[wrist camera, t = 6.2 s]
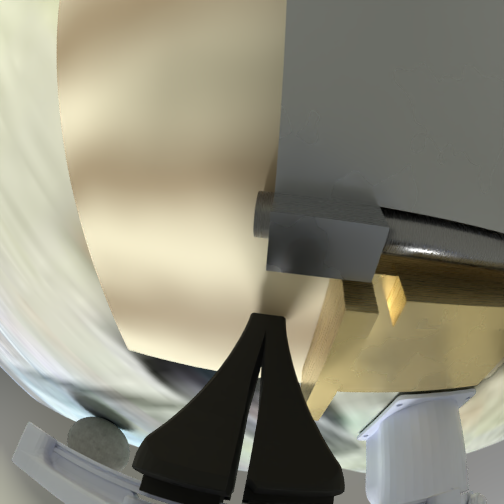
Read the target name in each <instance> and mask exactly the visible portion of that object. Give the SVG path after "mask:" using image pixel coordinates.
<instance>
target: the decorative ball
mask: <svg viewBox="0 0 504 504" xmlns="http://www.w3.org/2000/svg"><path fill="white" fill-rule="evenodd" d="M67 443H68V447H69V448H71V449H73V450H75V451H76V452H78V453H80V454H82V455H84V456H86V457H88V458H90V459H92V460H94V461H96V462H98V463H100V464H102V465H104V466H107V467H109V468H111V469H113V470H116V471H118V472H120V471H121V470H123V468H124V467H125V466H126V465H127V463H128V460H129V455H130V450H129V445H128V442H127V439H126V437H125V435H124V434H123V432H122V431H121V430H120V429H119V428H118V427H117V426H116V425H114V424H113V423H111V422H110V421H108V420H106V419H103V418H99V417H86V418H83V419H80V420H78V421H77V422H76V423H75V424H74V425H73V426H72V427H71V429H70V430H69V433H68V438H67Z"/></svg>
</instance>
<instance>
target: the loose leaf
mask: <svg viewBox="0 0 504 504" xmlns="http://www.w3.org/2000/svg"><path fill="white" fill-rule="evenodd" d="M503 357H504V272H503V271H497V270H490V269H483V268H477V267H470V266H463V265H456V264H449V263H442V262H435V261H428V260H421V259H414V258H406V257H399V256H392V255H384V254H381V256H380V259H379V262H378V265H377V268H376V270H375V273H374V276H373V279H372V281H371V283H369V282H360V281H351V280H342V279H333V278H330V280H329V284H328V287H327V291H326V295H325V298H324V302H323V305H322V309H321V312H320V316H319V319H318V322H317V325H316V329H315V332H314V335H313V338H312V342H311V345H310V348H309V351H308V354H307V357H306V360H305V363H304V366H303V369H302V378H301V391H302V393H303V396H304V398H305V401H306V404H307V406H308V408H309V410H310V413H311V415H312V417H313V419H314V420H316V421H318V420H319V419H320V417H321V416H322V414H323V413H324V411H325V410H326V408H327V407H328V405H329V404H330V402H331V400H332V399H333V397H334V396H335V394H336V392H337V391H340V392H410V391H427V390H440V389H450V388H459V387H467V386H475V385H478V384H479V383H480V382H481V381H482V380H483V379H484V378H485V377H486V376H487V375H488V374H489V373H490V372H491V370H492V369H493V368H494V367H495V366H496V365H497V364H498V363H499V362H500V361H501V360H502V358H503Z"/></svg>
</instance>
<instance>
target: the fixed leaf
mask: <svg viewBox="0 0 504 504" xmlns="http://www.w3.org/2000/svg"><path fill="white" fill-rule="evenodd" d="M384 207H385V208H384ZM389 208H391V209H389ZM395 209H396V210H395ZM401 210H402V211H401ZM406 211H407V212H406ZM411 212H413V213H411ZM417 213H418V214H417ZM422 214H423V215H422ZM427 215H428V216H427ZM432 216H433V217H432ZM436 217H437V218H436ZM441 218H442V219H441ZM446 219H447V220H446ZM450 220H451V221H450ZM455 221H456V222H455ZM459 222H460V223H459ZM464 223H465V224H464ZM468 224H469V225H468ZM472 225H473V226H472ZM481 227H482V228H481ZM485 228H486V229H485ZM489 229H490V230H489ZM493 230H494V231H493ZM500 232H501V233H500ZM253 234H254V237H258V238H267V239H268V251H267V263H266V271H274V272H282V273H290V274H299V275H307V276H316V277H324V278H333V279H342V280H351V281H360V282H369V283H371V281H372V279H373V276H374V273H375V270H376V268H377V265H378V262H379V259H380V256H381V253H386V254H394V255H401V256H408V257H415V258H423V259H430V260H437V261H444V262H450V263H457V264H464V265H471V266H477V267H484V268H490V269H497V270H503V271H504V0H287V6H286V28H285V48H284V67H283V84H282V100H281V116H280V131H279V145H278V159H277V172H276V185H275V192H266V191H259V192H258V195H257V199H256V205H255V213H254V226H253Z"/></svg>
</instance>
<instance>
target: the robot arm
mask: <svg viewBox="0 0 504 504" xmlns="http://www.w3.org/2000/svg"><path fill="white" fill-rule="evenodd" d="M260 369H261V380H260V395H259V410H258V419H257V425H256V431H255V436H254V442H253V448H252V453H251V459H250V464H249V469H248V475H247V480H246V485H245V491H244V495H243V500H242V504H333V501H334V496H336V495H340V494H342V493H343V492H344V489H345V484H344V477H343V472H342V469H341V466H340V464H339V463H338V461H337V460H336V458H335V457H334V455H333V454H332V452H331V450H330V449H329V447H328V445H327V444H326V442H325V440H324V439H323V437H322V435H321V433H320V431H319V429H318V427H317V425H316V423H315V421H314V419H313V417H312V415H311V413H310V410H309V408H308V406H307V404H306V401H305V398H304V396H303V393H302V391H301V388H300V385H299V382H298V379H297V376H296V373H295V369H294V366H293V362H292V358H291V354H290V349H289V344H288V338H287V331H286V318H285V317H284V316H276V315H268V314H261V313H252V314H251V315H250V318H249V320H248V323H247V325H246V327H245V329H244V331H243V333H242V335H241V336H240V338H239V340H238V342H237V343H236V345H235V346H234V348H233V350H232V351H231V353H230V354H229V356H228V357H227V359H226V360H225V361H224V363H223V364H222V366H221V367H220V368H219V370H218V371H217V372H216V373H215V375H214V376H213V377H212V378H211V380H210V381H209V382H208V383H207V384H206V385H205V386H204V388H203V389H202V390H201V391H200V392H199V393H198V394H197V395H196V396H195V397H194V398H193V399H192V400H191V401H190V402H189V403H188V404H187V405H186V406H185V407H184V408H182V409H181V410H180V411H179V412H178V413H177V414H175V415H174V416H173V417H172V418H171V419H170V420H168V421H167V422H166V423H164V424H163V425H162V426H160V427H159V428H158V429H156V430H155V431H153V432H152V433H151V434H149V435H148V436H147V437H146V438H145V439H144V441H143V442H142V443H141V445H140V447H139V449H138V451H137V452H136V456H135V458H134V461H133V464H132V467H133V468H134V469H135V470H137V471H138V472H140V473H142V474H144V475H143V478H142V481H141V480H138V479H135V478H133V477H130V476H128V475H125V474H123V473H120V472H118V471H116V470H113V469H111V468H109V467H107V466H104V465H102V464H100V463H98V462H96V461H94V460H92V459H90V458H88V457H86V456H84V455H82V454H80V453H78V452H76V451H75V450H73V449H71V448H69V447H67V446H66V445H64V444H62V443H60V442H59V441H57V440H56V439H55V438H54V437H52V436H50V435H49V434H47V433H46V432H44V431H43V430H41V429H40V428H38V427H37V426H35V425H34V424H32V423H31V422H28V424H27V426H26V428H25V430H24V432H23V434H22V437H21V439H20V441H19V443H18V446H17V448H16V450H15V452H14V455H13V457H12V462H13V463H15V464H16V465H17V466H18V467H19V468H21V469H22V470H23V471H24V472H25V473H27V474H28V475H29V476H30V477H32V478H33V479H34V480H35V481H37V482H38V483H39V484H40V485H42V486H43V487H44V488H45V489H47V490H48V491H49V492H50V493H52V494H53V495H54V496H56V497H57V498H58V499H60V500H61V501H62V502H64V503H65V504H154V503H152V502H148V501H145V500H142V499H140V498H139V497H138V495H137V493H139V494H141V495H144V496H147V497H150V498H152V499H155V500H158V501H161V502H165V503H168V504H225V503H223V500H230V498H231V494H232V493H233V492H234V487H235V481H236V476H237V471H238V466H239V460H240V455H241V450H242V444H243V439H244V434H245V428H246V423H247V418H248V413H249V409H250V406H251V402H252V399H253V395H254V391H255V388H256V384H257V380H258V377H259V373H260ZM475 394H476V389H475V388H472V389H465V390H457V391H448V392H438V393H426V394H410V395H401V396H398V397H397V398H396V399H395V400H394V401H393V402H392V403H391V404H390V405H389V406H388V407H387V408H386V409H385V410H384V411H383V412H382V413H381V414H380V415H379V416H378V417H377V418H376V419H375V420H374V421H373V422H372V423H371V424H370V425H369V426H368V427H367V428H366V429H365V430H364V431H362V432H361V433H360V434H359V435H358V436H357V440H366V495H367V498H368V500H369V502H370V503H371V504H487V502H486V498H485V497H484V496H483V495H480V493H475V494H473V491H470V492H467V493H464V494H461V493H462V492H464V491H467V490H469V488H468V472H467V461H466V452H465V444H464V437H463V431H462V425H461V419H460V414H459V408H460V407H461V406H462V405H464V404H465V403H466V402H467V401H468V400H469V399H470V398H472V397H473V396H474V395H475Z"/></svg>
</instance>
